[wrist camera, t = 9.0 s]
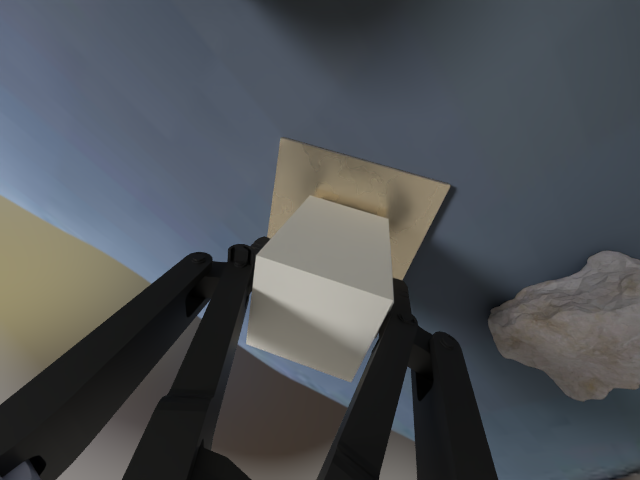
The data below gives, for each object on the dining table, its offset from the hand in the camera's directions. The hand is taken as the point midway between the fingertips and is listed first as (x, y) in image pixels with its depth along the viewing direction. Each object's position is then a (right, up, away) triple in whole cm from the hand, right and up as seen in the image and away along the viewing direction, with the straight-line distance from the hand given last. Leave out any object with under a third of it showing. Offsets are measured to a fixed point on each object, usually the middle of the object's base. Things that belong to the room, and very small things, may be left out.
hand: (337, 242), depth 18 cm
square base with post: (0, +1, +2) cm, 2 cm away
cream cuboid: (0, 0, 0) cm, 0 cm away
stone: (+17, -4, 0) cm, 17 cm away
